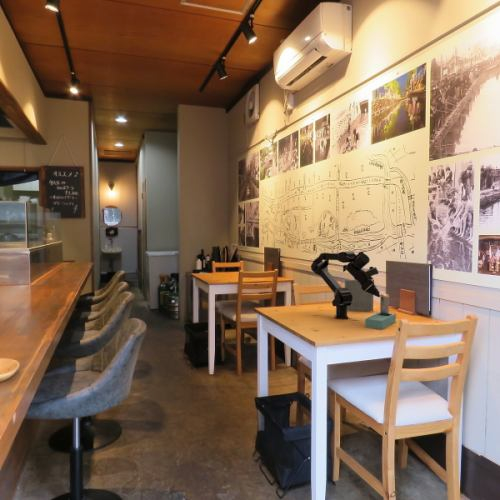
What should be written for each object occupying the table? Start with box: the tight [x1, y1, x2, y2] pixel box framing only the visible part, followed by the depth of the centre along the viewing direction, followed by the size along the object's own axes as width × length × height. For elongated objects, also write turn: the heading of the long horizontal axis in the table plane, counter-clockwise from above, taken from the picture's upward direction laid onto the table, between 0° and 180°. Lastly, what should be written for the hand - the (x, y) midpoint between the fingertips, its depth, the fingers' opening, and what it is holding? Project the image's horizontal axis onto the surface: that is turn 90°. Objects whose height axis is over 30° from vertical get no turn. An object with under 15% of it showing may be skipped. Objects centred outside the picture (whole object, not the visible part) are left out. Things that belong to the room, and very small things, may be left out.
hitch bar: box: [364, 311, 397, 330], centre depth 200 cm, size 20×8×4 cm, turn 143°
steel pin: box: [379, 293, 390, 316], centre depth 204 cm, size 4×4×14 cm
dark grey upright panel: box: [344, 279, 374, 312], centre depth 234 cm, size 16×4×20 cm, turn 77°
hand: (379, 295), depth 204 cm, fingers open, 9 cm apart
